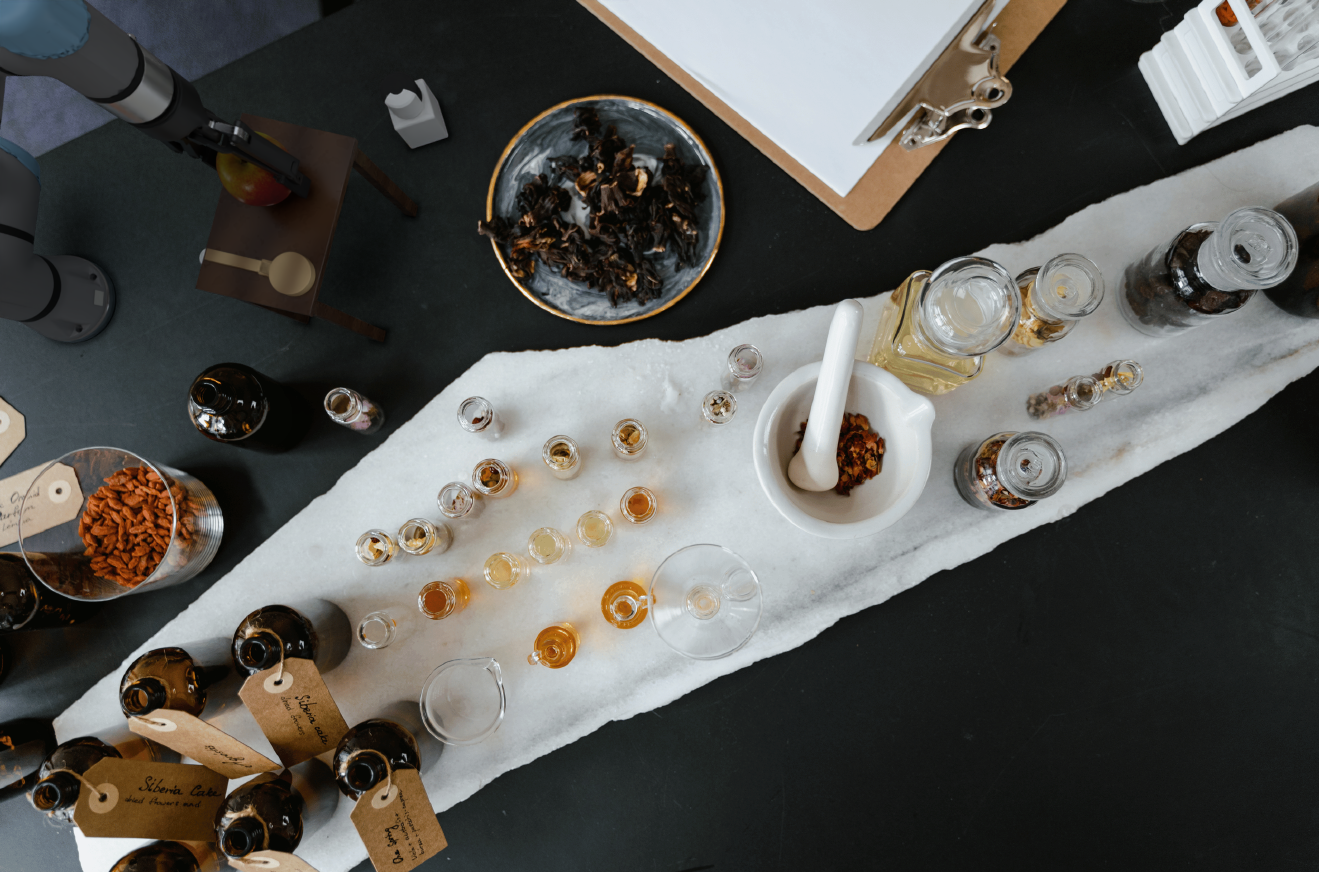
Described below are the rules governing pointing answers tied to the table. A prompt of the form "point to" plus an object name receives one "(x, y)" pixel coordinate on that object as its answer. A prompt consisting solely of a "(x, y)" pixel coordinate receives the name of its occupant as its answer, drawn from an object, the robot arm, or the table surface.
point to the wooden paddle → (273, 269)
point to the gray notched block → (413, 109)
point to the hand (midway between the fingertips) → (273, 181)
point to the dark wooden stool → (294, 224)
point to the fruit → (250, 179)
